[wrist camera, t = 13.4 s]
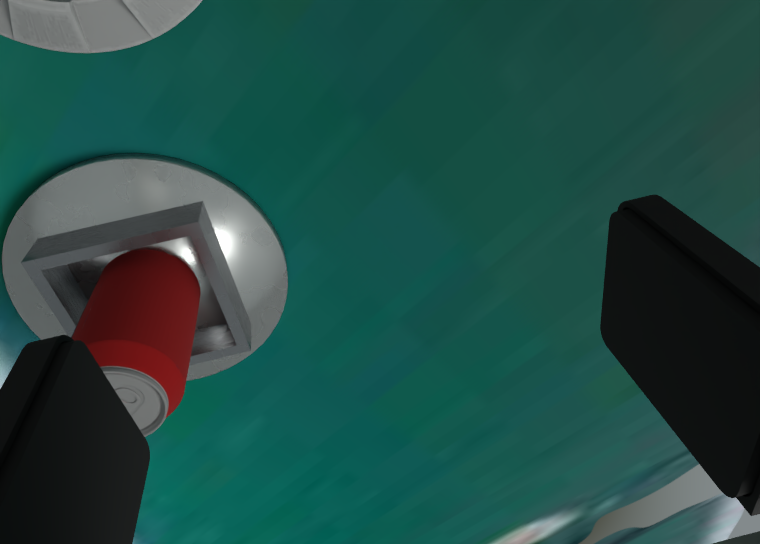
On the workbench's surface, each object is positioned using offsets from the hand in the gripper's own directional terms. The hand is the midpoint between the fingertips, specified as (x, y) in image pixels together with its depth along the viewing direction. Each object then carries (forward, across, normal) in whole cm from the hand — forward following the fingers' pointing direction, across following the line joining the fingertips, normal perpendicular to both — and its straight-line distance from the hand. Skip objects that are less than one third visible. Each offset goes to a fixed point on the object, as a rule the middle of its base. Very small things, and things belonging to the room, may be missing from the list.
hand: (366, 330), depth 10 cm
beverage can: (+27, +14, +14) cm, 34 cm away
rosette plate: (+28, +14, +14) cm, 35 cm away
